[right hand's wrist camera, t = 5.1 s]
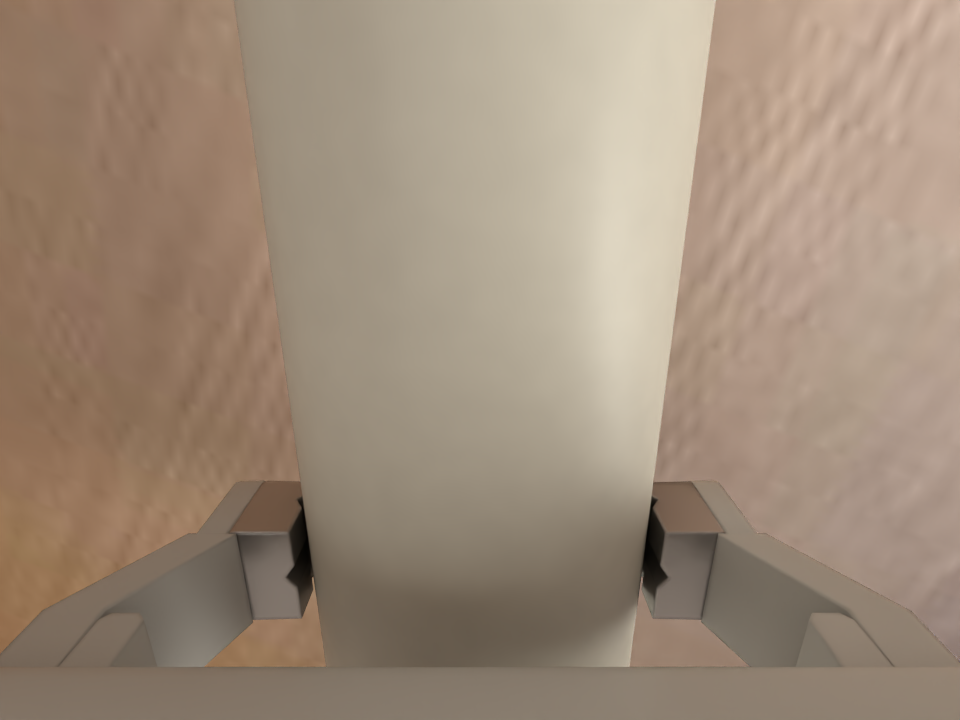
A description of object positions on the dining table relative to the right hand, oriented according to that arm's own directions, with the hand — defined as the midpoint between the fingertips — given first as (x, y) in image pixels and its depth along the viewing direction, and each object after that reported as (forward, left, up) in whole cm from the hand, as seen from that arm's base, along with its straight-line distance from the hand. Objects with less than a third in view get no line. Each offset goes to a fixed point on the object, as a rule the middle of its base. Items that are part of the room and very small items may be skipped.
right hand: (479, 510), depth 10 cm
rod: (+10, 0, -3) cm, 11 cm away
